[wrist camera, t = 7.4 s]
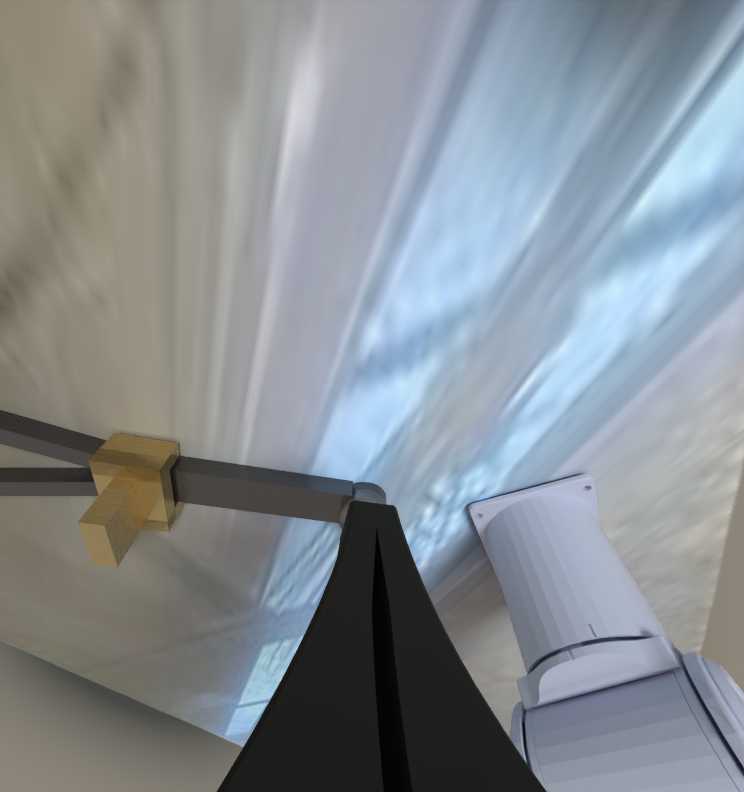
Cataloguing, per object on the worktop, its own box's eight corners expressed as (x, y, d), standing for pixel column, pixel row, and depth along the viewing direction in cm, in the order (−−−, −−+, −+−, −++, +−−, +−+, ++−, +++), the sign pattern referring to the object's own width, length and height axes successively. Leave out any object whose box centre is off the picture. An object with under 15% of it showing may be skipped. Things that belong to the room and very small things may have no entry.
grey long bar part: (402, 451, 22) (405, 475, 20) (371, 541, 27) (371, 566, 25) (-152, 363, 19) (-203, 383, 17) (-70, 484, 24) (-104, 509, 22)
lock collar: (178, 442, 21) (127, 517, 17) (185, 502, 24) (143, 579, 20) (114, 432, 21) (44, 506, 17) (128, 494, 24) (73, 571, 19)
